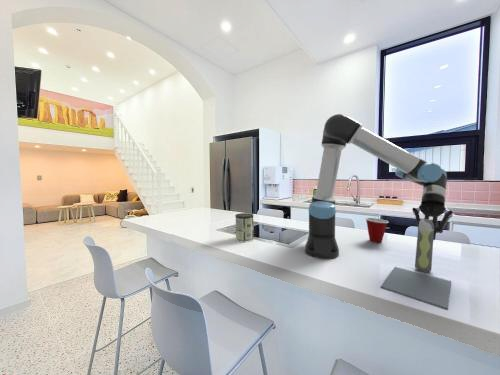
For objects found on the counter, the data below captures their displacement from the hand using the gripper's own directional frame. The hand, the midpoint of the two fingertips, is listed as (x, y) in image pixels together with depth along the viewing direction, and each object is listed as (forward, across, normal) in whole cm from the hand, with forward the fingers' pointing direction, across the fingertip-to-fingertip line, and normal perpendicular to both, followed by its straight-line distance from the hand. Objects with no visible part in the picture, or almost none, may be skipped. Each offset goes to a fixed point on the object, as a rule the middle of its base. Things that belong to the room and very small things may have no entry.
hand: (427, 245), depth 80 cm
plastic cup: (-11, +23, -24) cm, 36 cm away
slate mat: (+18, +1, +5) cm, 19 cm away
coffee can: (+21, +79, +8) cm, 82 cm away
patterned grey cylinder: (+7, +1, -6) cm, 9 cm away
